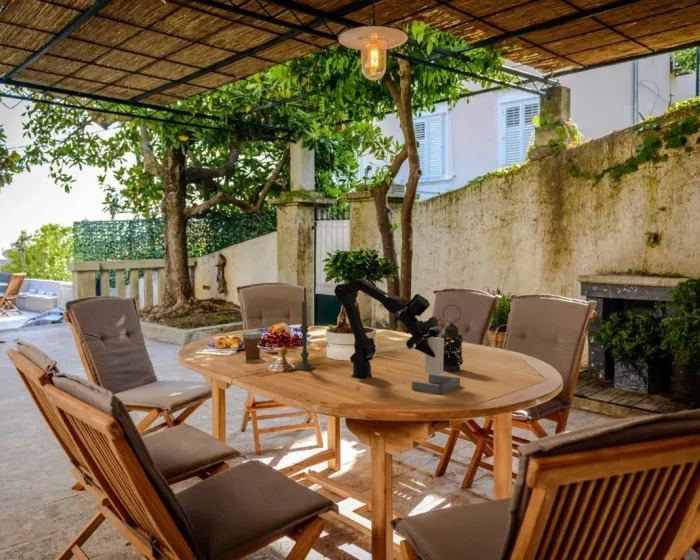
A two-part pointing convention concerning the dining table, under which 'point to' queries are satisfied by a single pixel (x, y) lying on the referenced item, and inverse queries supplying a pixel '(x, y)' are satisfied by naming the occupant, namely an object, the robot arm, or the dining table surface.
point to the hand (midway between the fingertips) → (437, 355)
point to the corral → (446, 382)
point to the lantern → (452, 347)
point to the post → (435, 363)
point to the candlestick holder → (304, 341)
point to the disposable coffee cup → (252, 344)
